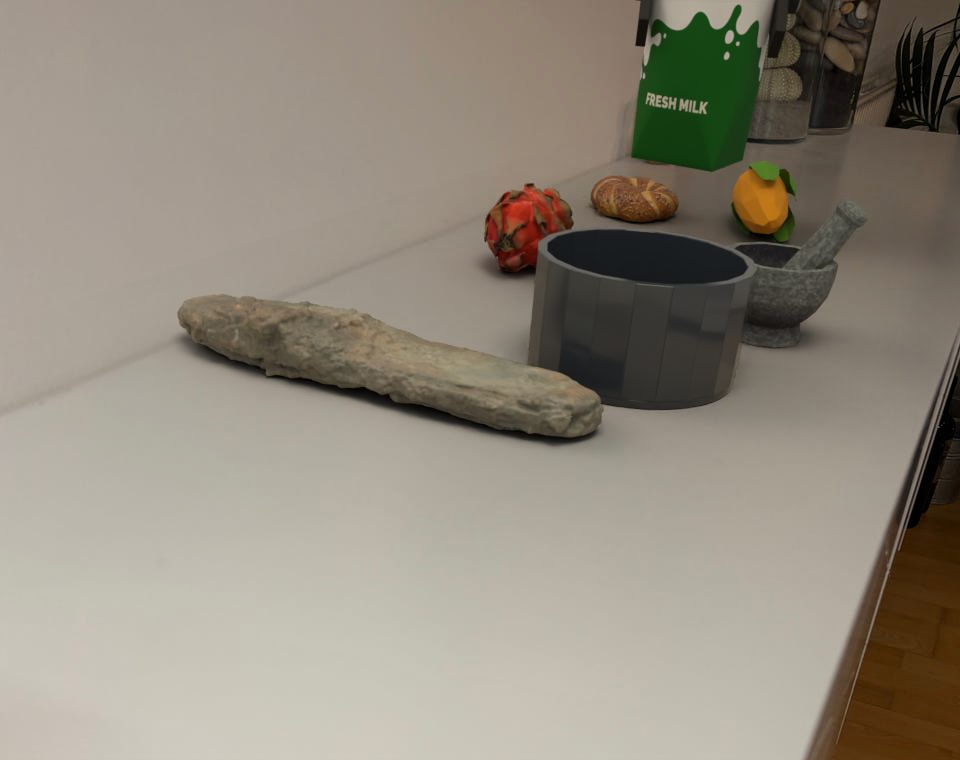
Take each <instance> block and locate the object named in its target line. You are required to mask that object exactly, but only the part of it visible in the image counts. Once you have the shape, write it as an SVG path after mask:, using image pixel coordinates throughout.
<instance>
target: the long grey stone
mask: <svg viewBox="0 0 960 760" xmlns="http://www.w3.org/2000/svg"><path fill="white" fill-rule="evenodd" d="M177 319H178V325H179V327H181V328H182V329H184V330H186V333H187V337H188V339H189V340H192V341H193V342H194V343H196V344H201V345H203V346H206V347H208V348H209V349H211V350H213V351H214V352H216V353H218V354H221V355H223V356H224V357H227V358H228V359H229V360H231V361H238V362H240V363H241V362H243V363H245V364H247V365H249V366H257V367H259V368H260V369H261V370H265V375H266V376H267V377H273V376H283V377H285V378H290V379H297V378H302V379H309V380H312V381H314V382H317V383H320V384H323V385H333V386H337V387H338V388H340V389H348V388H350V389H355V388H363V387H365V388H366V389H368V390H369V391H373V392H376V393H378V394H379V395H381V396H384V395H389V397H390V399H391V400H392V401H393V402H394V403H400V404H414V405H421V406H424V407H428V408H430V409H431V408H433V409H435V410H439V411H441V412H444V413H449V414H450V415H452V416H454V417H457V418H460V419H463V420H468V421H471V422H474V423H477V424H481V425H482V424H483V425H486V426H488V427H490V428H493V429H495V430H498V431H503V430H507V431H513V432H514V431H522V432H524V433H526V434H529V435H532V434H539V435H543V436H551V437H556V438H557V437H561V438H576V437H581V436H582V437H583V436H586V435H588V434H592V433H593V432H594V431H595V430H597V429H598V427H599V426H600V425H601V424H602V422H603V421H602V420H603V413H604V410H605V408H604V406H603V405H602V403H601V398H600V397H599V395H597V394H596V392H595V391H593V390H590V389H588V388H585V387H583V386H582V385H580V384H579V383H578V382H576V381H573V380H572V379H571V378H569V377H568V376H566V375H564V374H562V373H559V372H555V371H550V370H547V369H543V368H539V367H531V366H528V364H522V363H519V362H517V361H513V360H510V359H506V358H501V357H499V356H496V355H493V354H489V353H485V352H482V351H477V350H473V349H470V348H467V347H459V346H455V345H452V344H448V343H443V342H437V341H431V340H428V339H424V338H422V337H420V336H418V335H416V334H414V333H412V332H410V331H406V330H404V329H400V328H397V327H394V326H391V325H390V324H387V323H386V322H384V321H382V320H381V319H377V318H375V317H373V316H372V315H371V314H369V313H367V312H364V313H363V312H361V311H358V310H357V309H356V308H344V307H340V308H335V307H332V306H327V305H320V304H317V303H315V304H314V303H311V302H310V301H308V300H304V301H300V302H289V301H282V300H273V299H261V298H256V297H255V296H250V295H242V296H240V297H237V296H233V295H229V294H225V293H219V294H209V295H208V294H207V295H198V296H194V297H190V298H187V299H185V300H184V301H183V303H182V304H181V306H180V307H179V308H178V310H177Z"/></svg>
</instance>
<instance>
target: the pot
mask: <svg viewBox="0 0 960 760" xmlns="http://www.w3.org/2000/svg"><path fill="white" fill-rule="evenodd" d="M727 246H728V245H724V244H722V243H719V242H716V241H713V240H708V239H704V238H700V237H696V236H693V235H688V234H682V233H678V232H677V233H676V232H670V231H664V230H658V229H647V228H645V229H644V228H635V227H619V226H618V227H613V226H612V227H609V226H608V227H607V226H605V227H602V226H601V227H597V226H595V227H583V228H572V229H571V230H566V231H562V232H558V233H554V234H550V235H548V236H547V237H545V238H544V239H542V240H541V241H539V242H538V252H537V263H536V269H535V275H534V285H533V286H534V287H533V296H532V307H531V317H530V327H529V328H530V330H529V340H528V349H527V350H528V352H527V366H531V367H539V368H543V369H547V370H550V371H555V372H559V373H562V374H564V375H566V376H568V377H569V378H571V379H572V380H573V381H576V382H578V383H579V384H580V385H582V386H583V387H585V388H588V389H590V390H593V391H595V392H596V394H597V395H599V397H600V398H601V404H603V405H609V406H614V407H622V408H629V409H641V410H642V409H643V410H675V409H678V410H679V409H688V408H694V407H700V406H703V405H709V404H711V403H714V402H716V401H718V400H720V399H723V398H724V397H725V396H726V395H728V394H729V393H730V391H731V390H732V388H733V385H734V381H735V379H736V376H737V372H738V367H739V361H740V358H741V352H742V348H743V343H744V342H743V338H744V333H745V328H746V323H747V319H748V314H749V309H750V304H751V299H752V294H753V289H754V285H755V280H756V275H757V270H758V268H757V267H756V265H755V263H754V261H753V260H752V259H751V258H749V257H748V256H746V255H744V254H743V253H741V252H739V251H738V250H736V249H733V248H730V247H727Z"/></svg>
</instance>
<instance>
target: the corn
mask: <svg viewBox="0 0 960 760" xmlns="http://www.w3.org/2000/svg"><path fill="white" fill-rule="evenodd" d="M789 194H790V195H792V196H793V197H794V202H797V184H796V181H795V179H794V178H793V176H792V175H791V173H790V171H788V170H787V169H786V168H779V166H778V164H776V163H774V162H769V161H765V160H759V161H756V162H752V163H749V164H748V169H747V170H746V171H745V172H743V173H742V174H741V175H739V177H738V179H737V181H736V183H735V185H734V186H733V191H732V202H731V204H730V207H731V208H730V209H731V215H732V216H733V218H734V220H735V222H736V223H737V226H738V227H739V229H740V230H741V231H742V233H743V234H745V235H747V236H749V237H750V236H751V232H752V233H756V234H765V235H770V234H771V235H773V237H774V238H775V239H776V241H778V242H779V243H781V242H786V241H788V240H789V239H790V238H791V236H792V235H793V232H794V229H795V226H796V221H795V219H796V218H795V216H794V214H793V211H792V209H791V207H790V205H789Z"/></svg>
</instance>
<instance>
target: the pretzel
mask: <svg viewBox="0 0 960 760" xmlns="http://www.w3.org/2000/svg"><path fill="white" fill-rule="evenodd" d="M590 202H591V204H592V207H594V208H596V209H597V208H598V209H597V211H598V212H599V213H601V214H603V215H604V216H607V217H610V218H617V219H618V218H619V219H622V220H623V221H626V222H635V223H645V222H652V221H654V220H658V221H660V220H663V221H664V220H667V219H669V218H670V217H671V216H672V215H674V214H675V213H676V212H677V211H678V210H679V205H680V202H679V197H678V196H677V194H676V193H675V192H674V191H673V190H670V188H669V187H668V186H667V185H665V184H663V183H660V182H655V181H654V179H651V178H649V177H643V176H634V177H627V176H624V175H615V174H614V175H609V176H604V177H603V178H601V179H600V180H598V181H597V182H595V184H594V186H593V187H592V189H591V191H590Z"/></svg>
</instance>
